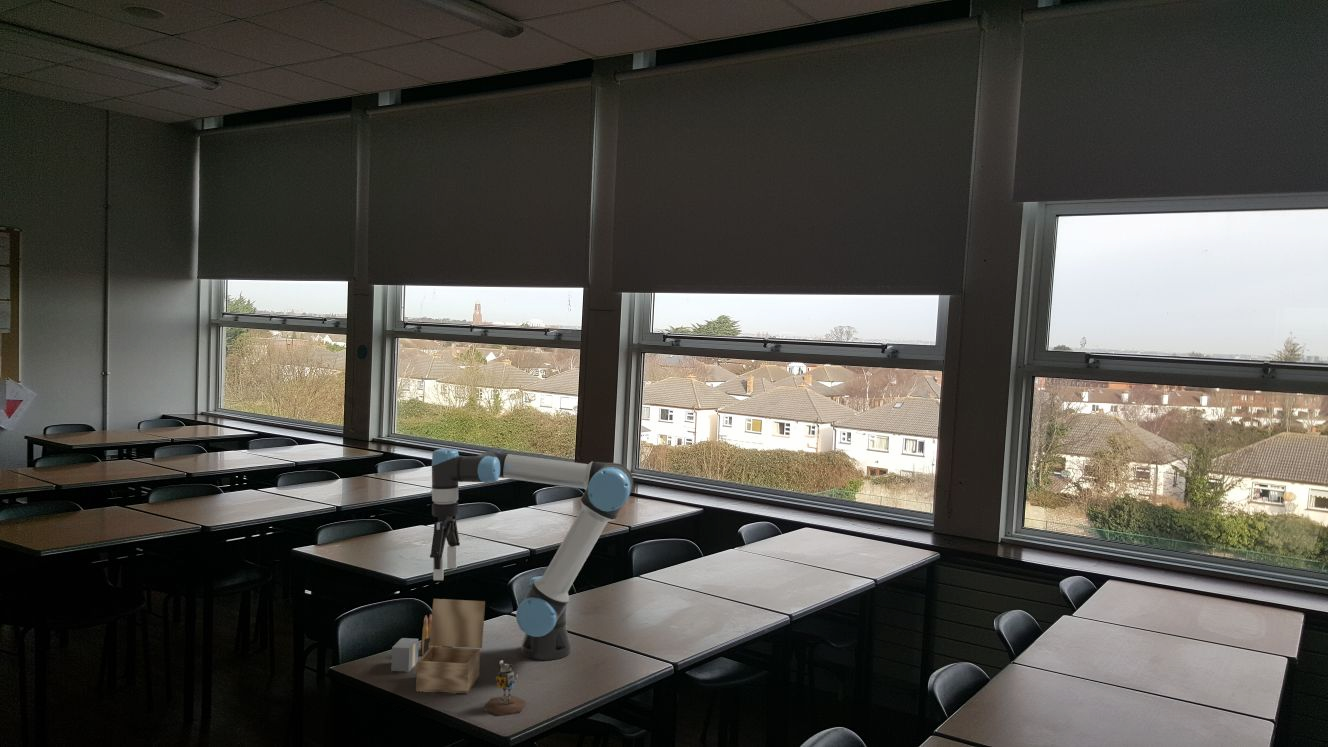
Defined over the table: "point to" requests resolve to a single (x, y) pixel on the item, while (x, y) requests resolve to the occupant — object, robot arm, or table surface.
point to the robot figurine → (505, 703)
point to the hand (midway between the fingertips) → (445, 573)
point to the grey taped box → (404, 654)
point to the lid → (457, 623)
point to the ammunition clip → (427, 636)
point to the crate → (447, 670)
